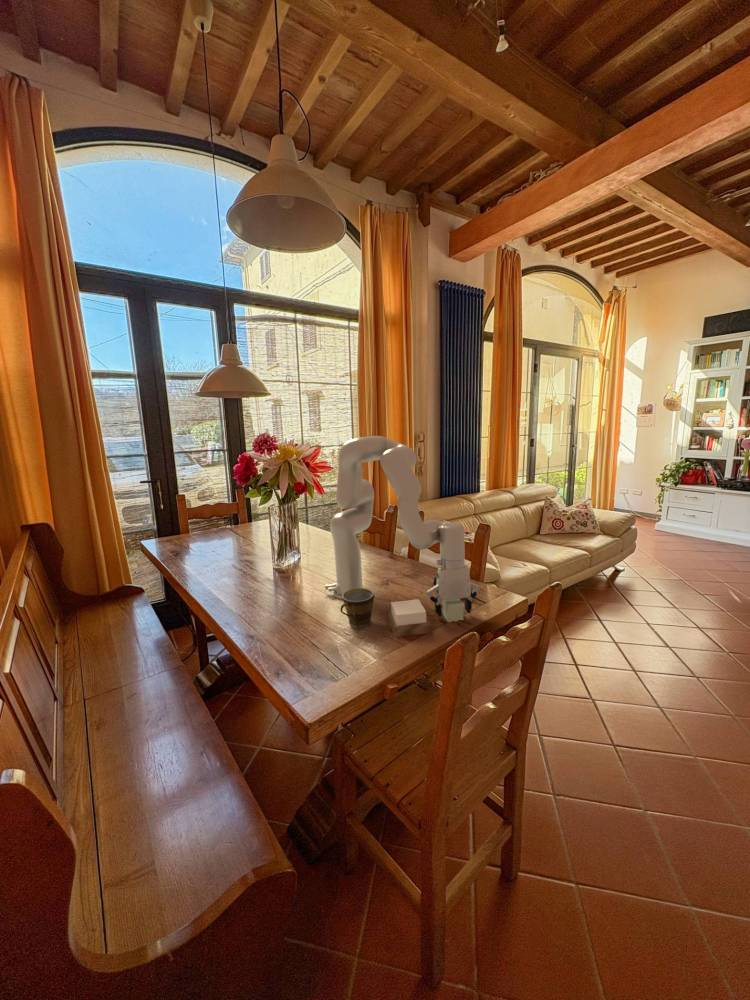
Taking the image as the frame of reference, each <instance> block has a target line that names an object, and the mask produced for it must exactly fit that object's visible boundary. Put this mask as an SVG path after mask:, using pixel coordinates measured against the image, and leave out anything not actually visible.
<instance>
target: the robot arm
mask: <svg viewBox="0 0 750 1000" xmlns="http://www.w3.org/2000/svg"><path fill="white" fill-rule="evenodd" d="M417 460H418V459H417V455H416V453H415V451H414V450H413V448H411V447H410V446H408V445H406V444H404V443H400V442H397V441H396V440H393V439H390V438H388V437H386V436H383V435H382V436H381V435H371V436H360V437H355V438H352V439H349V440H347V441H346V442H345V441H344V443H343V444H342V445H341V447H340V449H339V452H338V470H337V471H338V472H337V473H338V474H337V482H336V483H337V484H336V496H335V497H336V499H335V500H336V503H337V505H338V506H339V508H341V509H343V510H342V511H340V512H338V513H336V514H334V515H333V516H332V518H331V519H330V523H329V530H330V534H331V537H332V540H333V547H334V548H333V549H334V561H335V573H336V580H335V582H334V583H332V584H330V583H329V584H328V583H327V584H324V589H325V591H327V590H328V592H333V596H334V597H335V598H337V599H338V600H342V601H343V597H342V595H343V594H344V593H345V592H346V591H348V590H351V589H356V588H365V589H368V588H367V586H365V585H364V584H363V571H362V557H361V554H362V553H361V545H360V542H359V540H358V538H357V534H359V533H362V532H364V531H365V530H367V529H368V528H369V527H370V526H371V524H372V519H373V514H374V513H373V511H374V501H375V490H374V487H373V484H372V483H370V481H368V480H367V479H364V478H363V475H364V474H363V468H362V465H361V464H363V463H370V462H375V461H380V465H381V468H382V470H383V471H384V475H385V476H386V478H387V480H388V481H389V484H390V485H391V488H392V490H393V492H394V494H395V497H397V513H398V520H399V523H400V526H401V529H402V530H403V532H404V534H405V537H406V538H407V540H408V542H409V543H410V544H411V546H412V547H414V548H415V549H418V550H427V549H429V548H431V547H432V546H433V545H435V544H438V543H439V559H437V560H435V564H436V566H437V565H439V566H438V569H437V574H436V575H437V583H436V585H435V586H434V585H433V586H432V587H431V588H429V589H428V590H426V592H425V593H426V595H427V596H428V598H429V599H430V601H431V602H433V603H434V610H435V611H434V612H435V614H437V616H438V617H439V618H442V616H443V615H442V614H443V610H442V605H441V603H443V600H452V599H464V610H465V611H466V613H467V614H471V610H472V602H473V601H474V599H475V597H477V595H478V593H479V590H480V586H479V585H478V584H476V583H474V582H471V577H470V571H469V567H468V566H467V564H466V558H465V557H466V555H465V554H466V553H465V551H466V550H465V547H466V545H465V528H464V527H465V526H464V525H463V524H462V523H458V522H446V521H443V520H440V519H436V518H435V519H434V518H433V519H432V518H431V519H428V520H426V521H424V522H423V519H422V517H421V515H420V511H419V499H420V495H421V493H422V485H421V484H420V482H419V480H418V477H417V475H416V474H415V472H414V470H413V468H415V466H416V464H417ZM471 588H472V589H471ZM435 592H436V595H435V596H434V595H433V594H434V593H435Z"/></svg>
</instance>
